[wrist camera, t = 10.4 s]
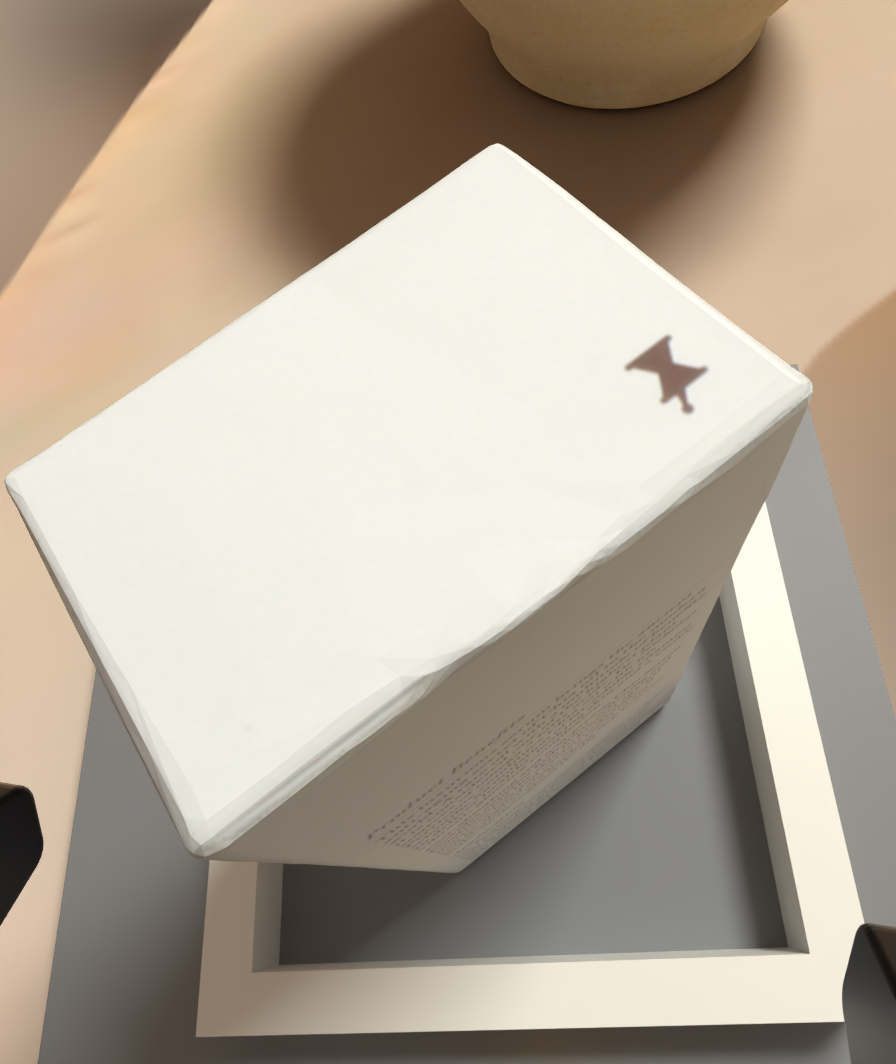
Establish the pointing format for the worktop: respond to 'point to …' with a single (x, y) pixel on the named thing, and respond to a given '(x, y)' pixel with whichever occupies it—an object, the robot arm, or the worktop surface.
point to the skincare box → (414, 528)
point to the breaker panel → (538, 875)
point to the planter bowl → (621, 45)
